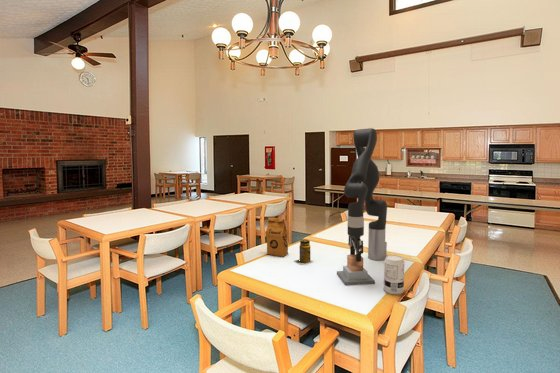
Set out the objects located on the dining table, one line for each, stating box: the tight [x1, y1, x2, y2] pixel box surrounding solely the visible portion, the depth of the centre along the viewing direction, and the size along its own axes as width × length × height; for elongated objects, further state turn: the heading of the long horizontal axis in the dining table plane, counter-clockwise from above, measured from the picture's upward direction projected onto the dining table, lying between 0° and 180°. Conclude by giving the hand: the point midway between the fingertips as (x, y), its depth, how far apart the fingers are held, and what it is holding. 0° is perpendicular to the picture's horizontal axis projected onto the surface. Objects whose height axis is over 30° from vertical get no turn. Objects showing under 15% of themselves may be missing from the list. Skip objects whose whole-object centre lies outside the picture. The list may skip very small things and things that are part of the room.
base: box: [336, 265, 376, 286], centre depth 161 cm, size 14×14×5 cm
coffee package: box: [265, 217, 289, 258], centre depth 199 cm, size 10×12×22 cm
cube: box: [346, 253, 364, 271], centre depth 161 cm, size 6×6×6 cm
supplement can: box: [383, 254, 405, 296], centre depth 146 cm, size 8×8×15 cm
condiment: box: [294, 238, 314, 266], centre depth 186 cm, size 7×8×12 cm
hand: (355, 258), depth 160 cm, fingers open, 8 cm apart
